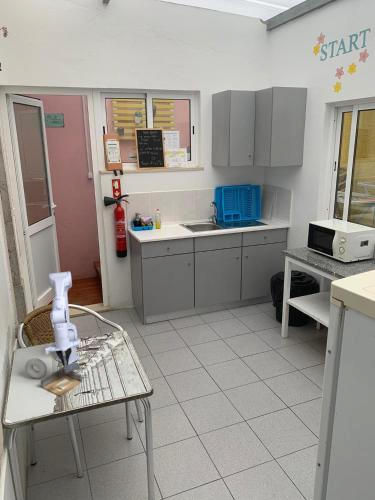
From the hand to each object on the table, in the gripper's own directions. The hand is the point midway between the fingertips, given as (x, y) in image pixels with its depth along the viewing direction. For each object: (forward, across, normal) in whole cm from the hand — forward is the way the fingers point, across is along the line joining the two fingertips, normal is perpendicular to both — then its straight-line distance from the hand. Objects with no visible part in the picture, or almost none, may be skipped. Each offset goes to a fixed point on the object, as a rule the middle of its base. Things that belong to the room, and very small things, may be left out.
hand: (65, 364), depth 167 cm
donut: (+10, -12, +11) cm, 19 cm away
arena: (+10, -2, 0) cm, 10 cm away
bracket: (+3, +2, 0) cm, 4 cm away
